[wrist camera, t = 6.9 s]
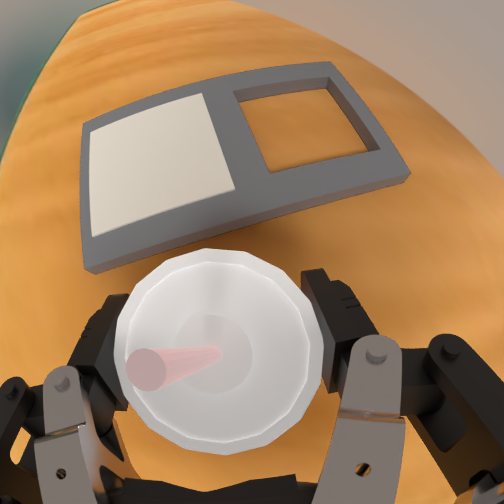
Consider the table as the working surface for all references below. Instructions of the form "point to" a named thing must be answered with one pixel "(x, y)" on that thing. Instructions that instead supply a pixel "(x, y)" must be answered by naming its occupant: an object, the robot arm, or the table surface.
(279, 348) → the beverage cup
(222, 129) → the hole board
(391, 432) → the robot arm
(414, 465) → the table surface
